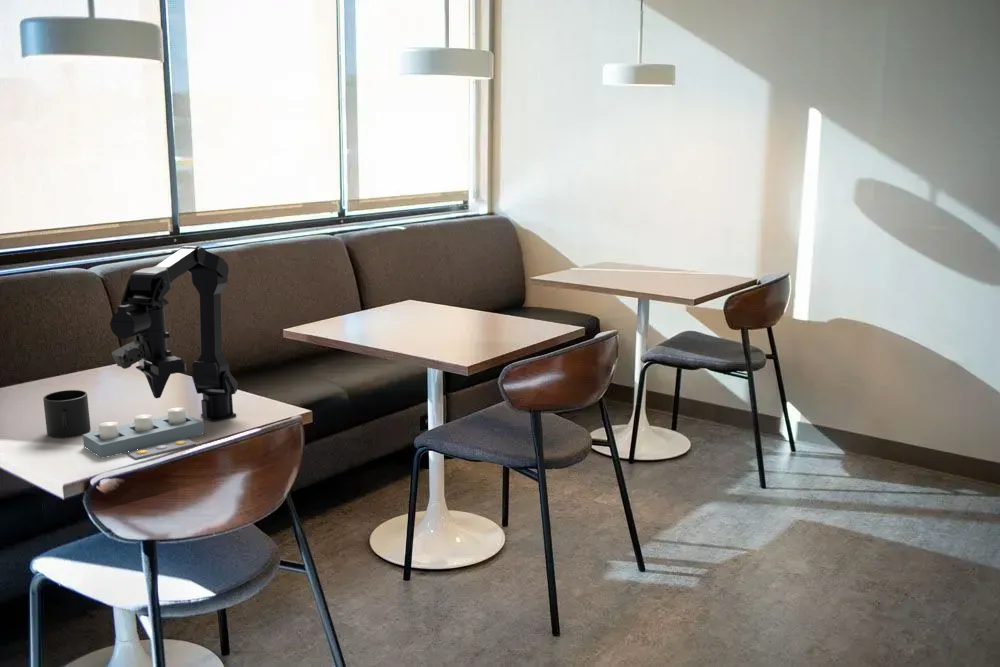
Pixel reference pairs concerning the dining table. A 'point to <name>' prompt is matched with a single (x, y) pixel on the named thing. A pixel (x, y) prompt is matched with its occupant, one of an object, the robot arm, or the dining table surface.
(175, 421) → the button
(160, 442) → the button board
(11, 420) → the dining table surface
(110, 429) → the button
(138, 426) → the button mid
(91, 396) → the dining table surface
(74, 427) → the mug
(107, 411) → the dining table surface
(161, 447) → the card
